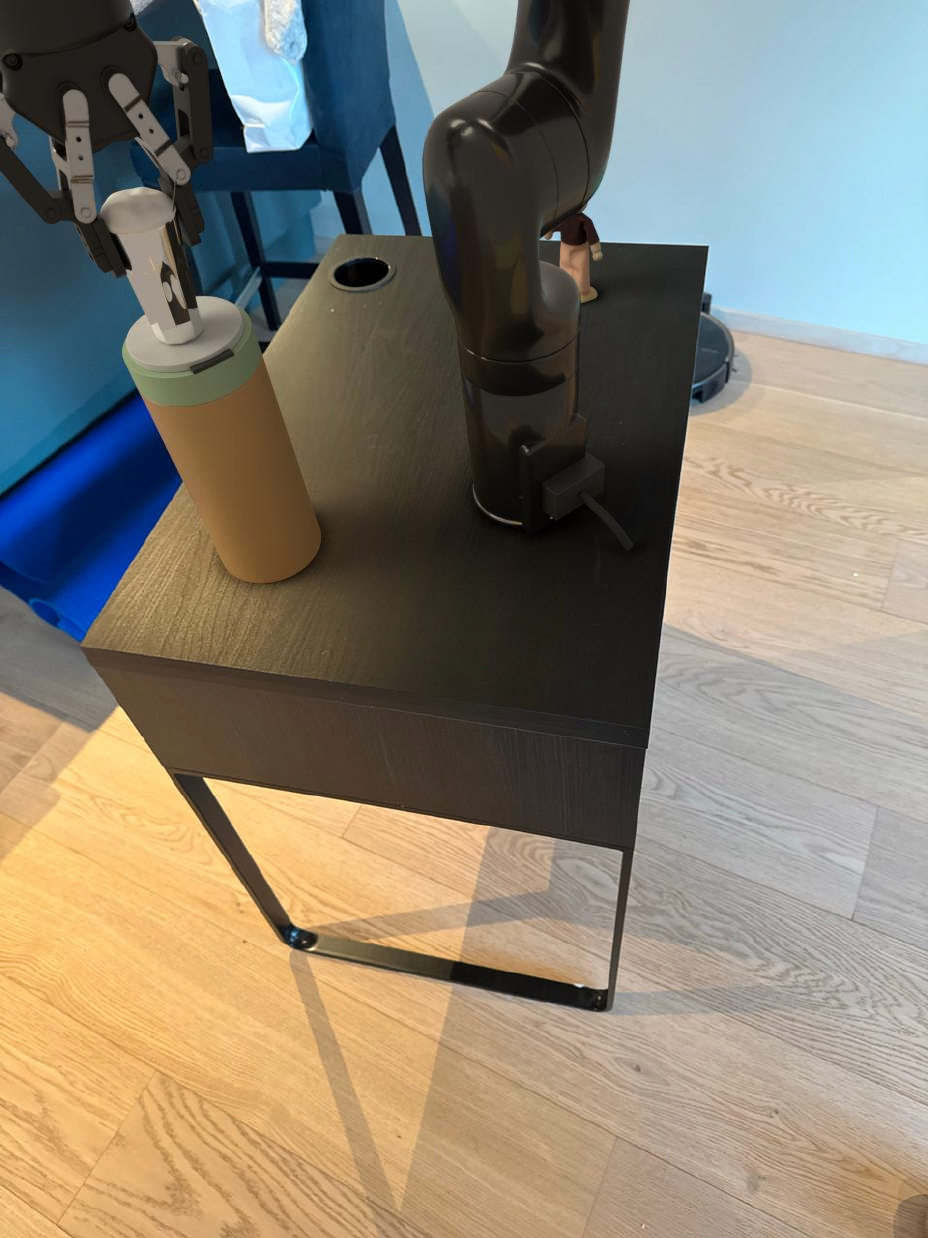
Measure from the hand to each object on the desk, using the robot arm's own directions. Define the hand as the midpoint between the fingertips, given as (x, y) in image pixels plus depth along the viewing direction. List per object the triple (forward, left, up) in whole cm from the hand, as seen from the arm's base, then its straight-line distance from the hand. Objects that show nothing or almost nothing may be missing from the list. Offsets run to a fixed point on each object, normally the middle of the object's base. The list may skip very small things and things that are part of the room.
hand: (154, 254), depth 53 cm
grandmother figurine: (+11, -45, -28) cm, 54 cm away
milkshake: (0, 0, -6) cm, 6 cm away
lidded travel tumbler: (0, 0, -27) cm, 27 cm away
